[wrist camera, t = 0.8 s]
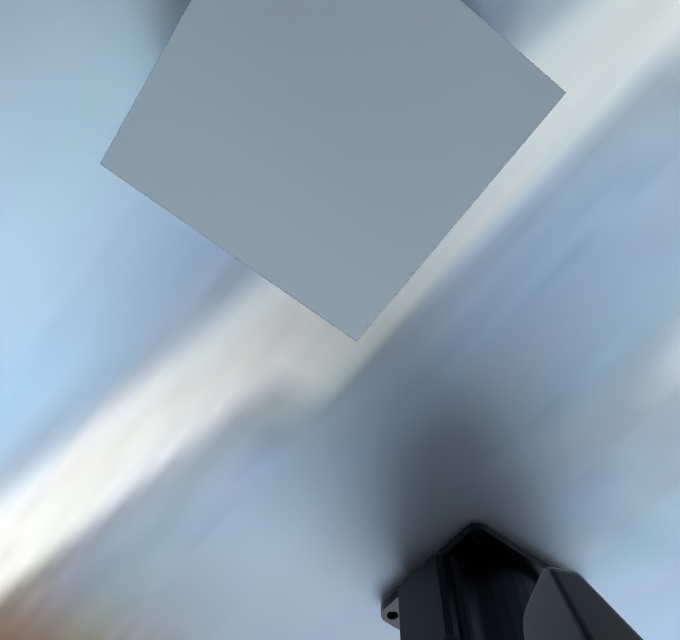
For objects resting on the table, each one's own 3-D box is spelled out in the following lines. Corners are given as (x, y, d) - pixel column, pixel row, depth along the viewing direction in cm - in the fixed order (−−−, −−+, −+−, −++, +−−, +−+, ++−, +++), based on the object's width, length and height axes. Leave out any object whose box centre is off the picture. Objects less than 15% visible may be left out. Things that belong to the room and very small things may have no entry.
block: (499, 83, 18) (565, 92, 12) (359, 260, 20) (356, 341, 14) (311, -78, 16) (279, -159, 11) (184, 132, 19) (99, 163, 13)
